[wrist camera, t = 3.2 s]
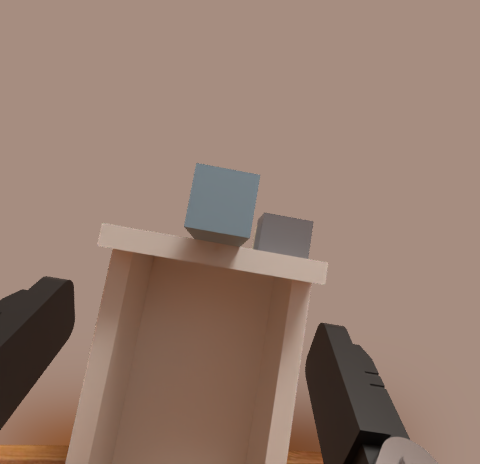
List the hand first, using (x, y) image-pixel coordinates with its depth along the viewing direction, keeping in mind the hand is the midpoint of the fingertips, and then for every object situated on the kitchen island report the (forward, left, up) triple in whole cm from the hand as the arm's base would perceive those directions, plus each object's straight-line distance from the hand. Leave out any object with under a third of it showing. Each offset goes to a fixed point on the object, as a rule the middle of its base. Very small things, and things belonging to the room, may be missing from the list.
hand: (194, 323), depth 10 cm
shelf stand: (0, +25, -28) cm, 37 cm away
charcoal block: (+6, +22, +4) cm, 23 cm away
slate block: (0, +19, +4) cm, 20 cm away
